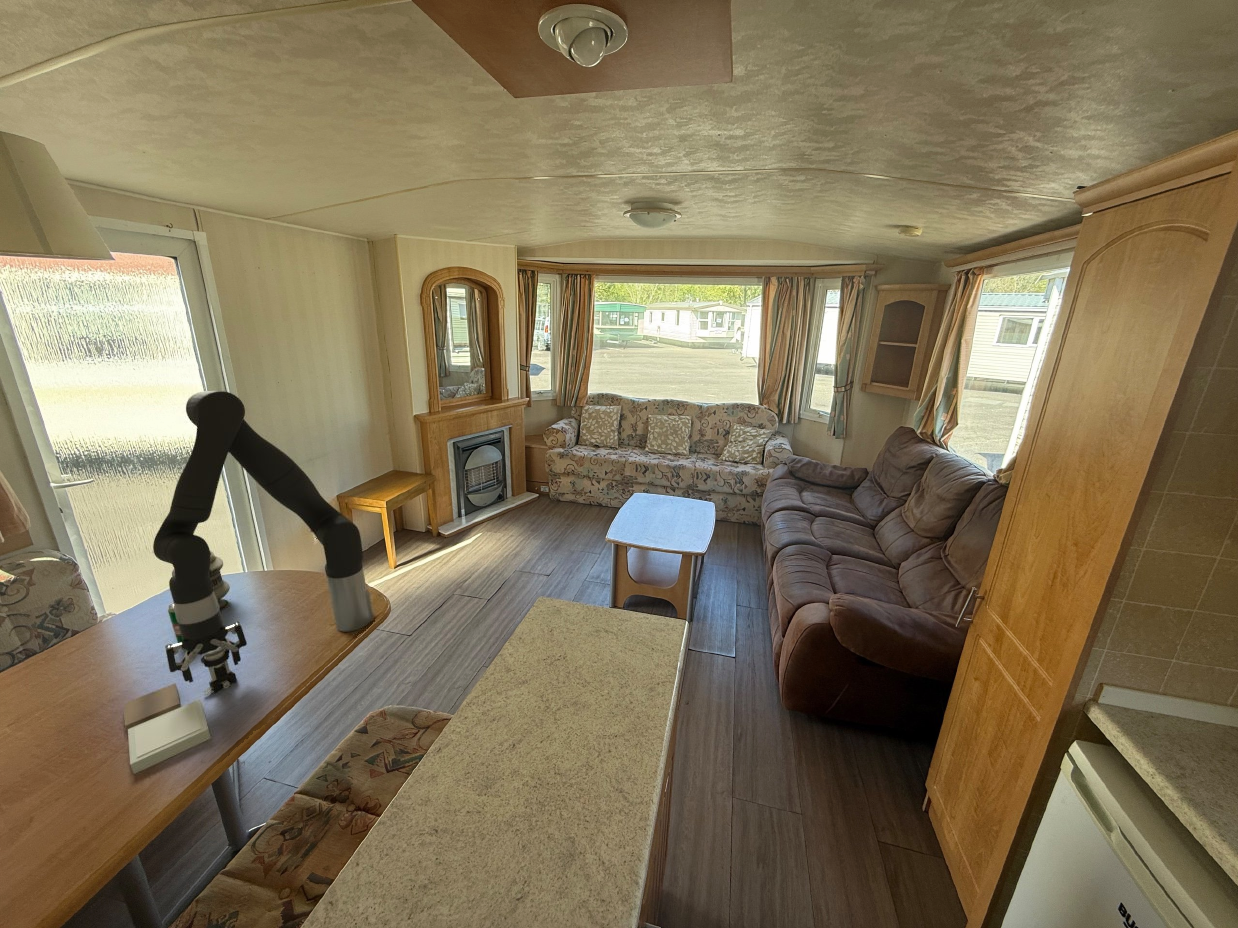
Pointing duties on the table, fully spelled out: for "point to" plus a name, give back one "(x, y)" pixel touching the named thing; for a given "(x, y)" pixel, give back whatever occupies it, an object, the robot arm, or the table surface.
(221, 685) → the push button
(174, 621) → the soda can
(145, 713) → the walnut stand
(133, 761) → the cream tray
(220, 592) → the apothecary jar
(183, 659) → the robot arm
